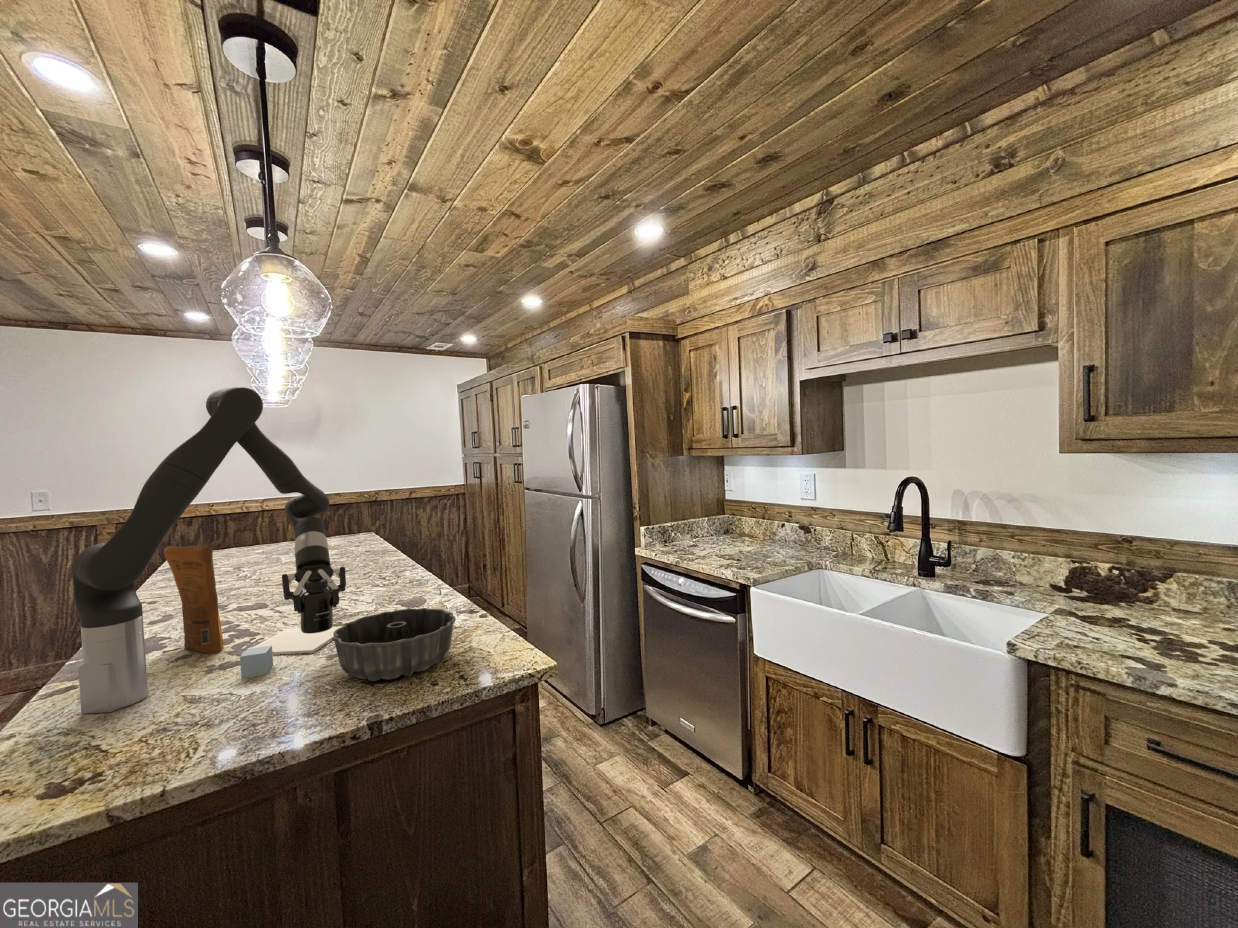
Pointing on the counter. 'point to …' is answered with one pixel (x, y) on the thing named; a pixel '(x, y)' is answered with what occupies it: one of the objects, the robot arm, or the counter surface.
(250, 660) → the blue block
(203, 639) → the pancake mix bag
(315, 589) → the supplement bottle
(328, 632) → the mat
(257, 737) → the counter surface
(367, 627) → the bundt pan
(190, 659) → the counter surface
